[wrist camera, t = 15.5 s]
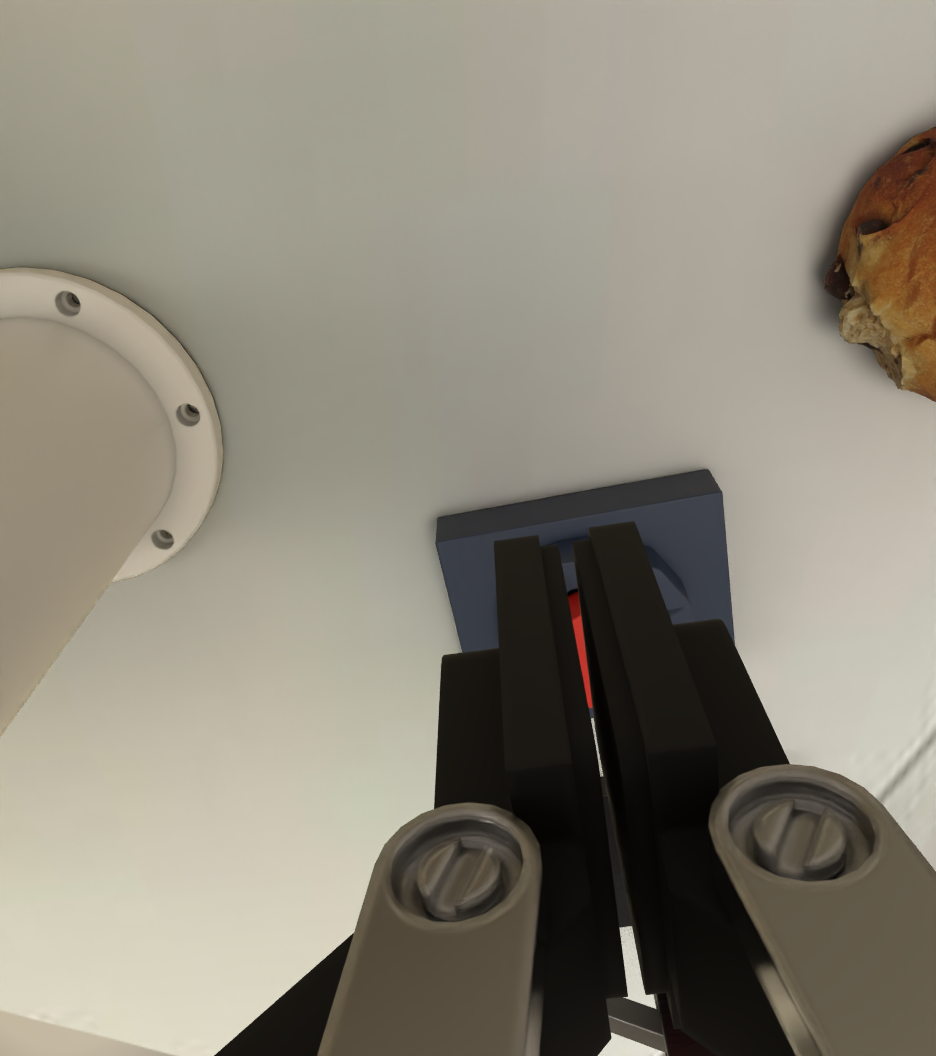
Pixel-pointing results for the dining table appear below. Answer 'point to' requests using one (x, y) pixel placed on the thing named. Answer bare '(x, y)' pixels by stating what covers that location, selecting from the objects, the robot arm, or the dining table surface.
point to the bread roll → (893, 267)
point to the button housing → (654, 505)
